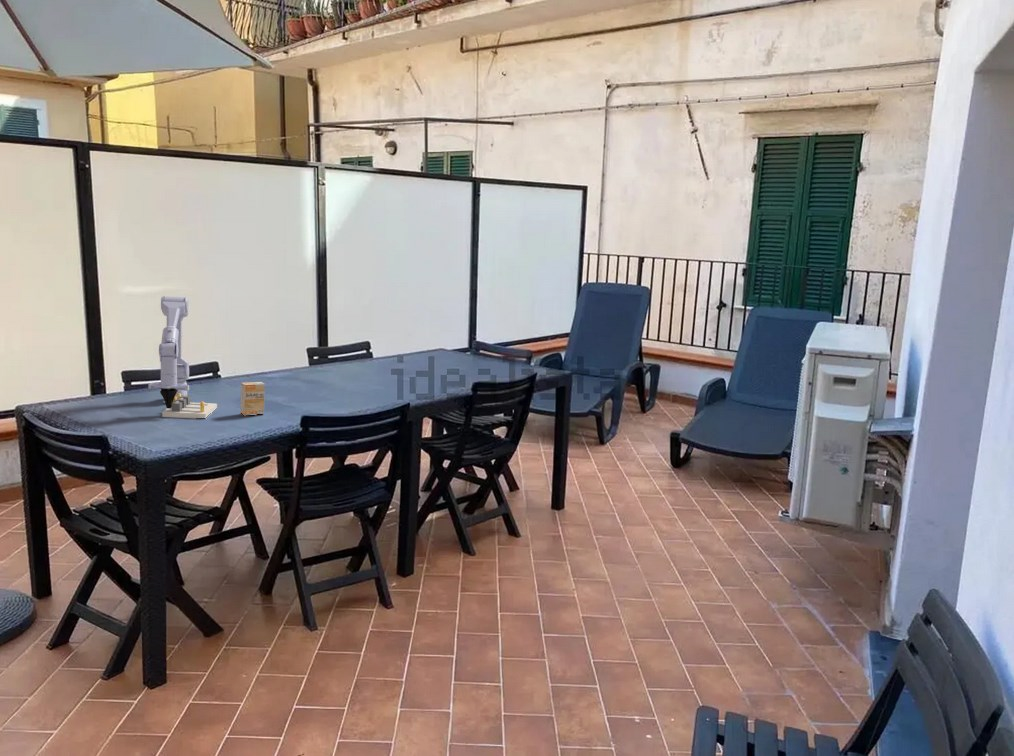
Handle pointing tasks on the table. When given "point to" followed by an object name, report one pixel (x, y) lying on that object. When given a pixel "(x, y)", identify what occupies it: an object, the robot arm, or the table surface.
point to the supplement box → (252, 398)
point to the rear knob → (186, 399)
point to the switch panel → (191, 410)
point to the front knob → (177, 406)
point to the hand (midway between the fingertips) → (169, 407)
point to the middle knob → (182, 402)
